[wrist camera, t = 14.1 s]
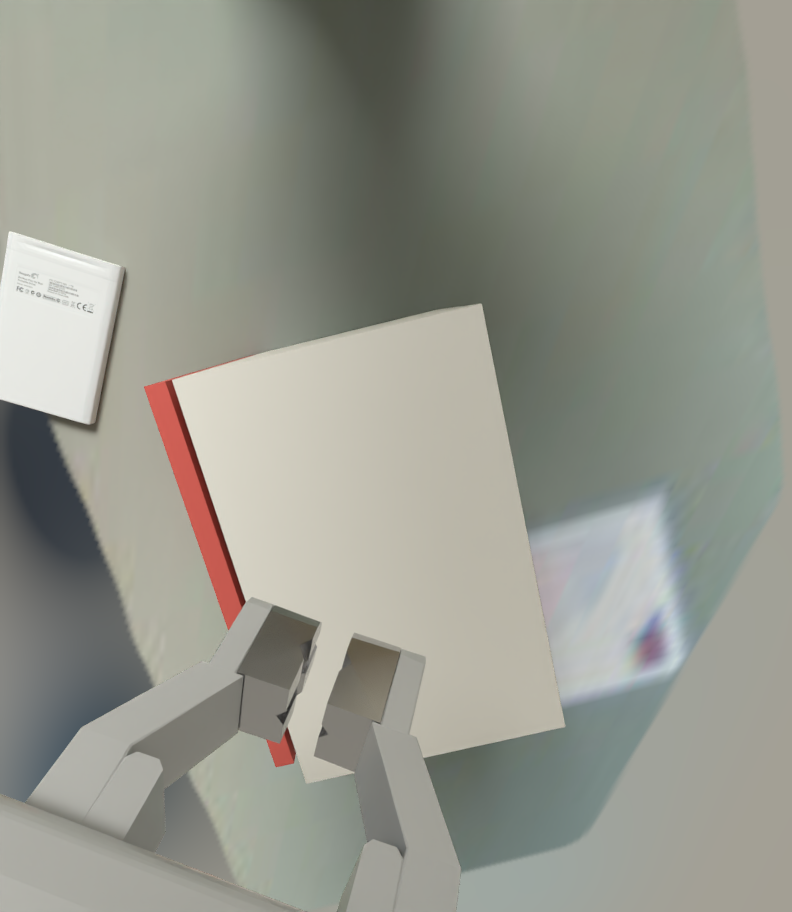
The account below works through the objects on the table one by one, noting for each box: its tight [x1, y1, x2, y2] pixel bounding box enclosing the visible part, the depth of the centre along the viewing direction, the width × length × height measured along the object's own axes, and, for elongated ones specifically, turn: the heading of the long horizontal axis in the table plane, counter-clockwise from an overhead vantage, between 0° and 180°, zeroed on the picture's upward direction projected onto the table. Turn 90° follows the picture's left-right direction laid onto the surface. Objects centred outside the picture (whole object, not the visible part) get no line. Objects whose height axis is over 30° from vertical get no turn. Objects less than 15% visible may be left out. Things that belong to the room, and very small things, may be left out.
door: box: [144, 355, 296, 767], centre depth 38 cm, size 21×3×19 cm, turn 14°
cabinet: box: [172, 303, 565, 784], centre depth 37 cm, size 22×14×20 cm, turn 14°
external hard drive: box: [0, 231, 125, 425], centre depth 44 cm, size 2×8×12 cm
